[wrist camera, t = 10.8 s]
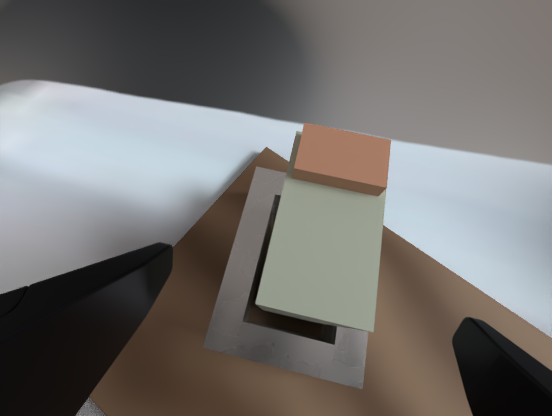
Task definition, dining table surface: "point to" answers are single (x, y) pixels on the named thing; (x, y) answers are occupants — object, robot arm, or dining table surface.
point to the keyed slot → (264, 338)
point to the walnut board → (288, 384)
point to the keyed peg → (328, 230)
